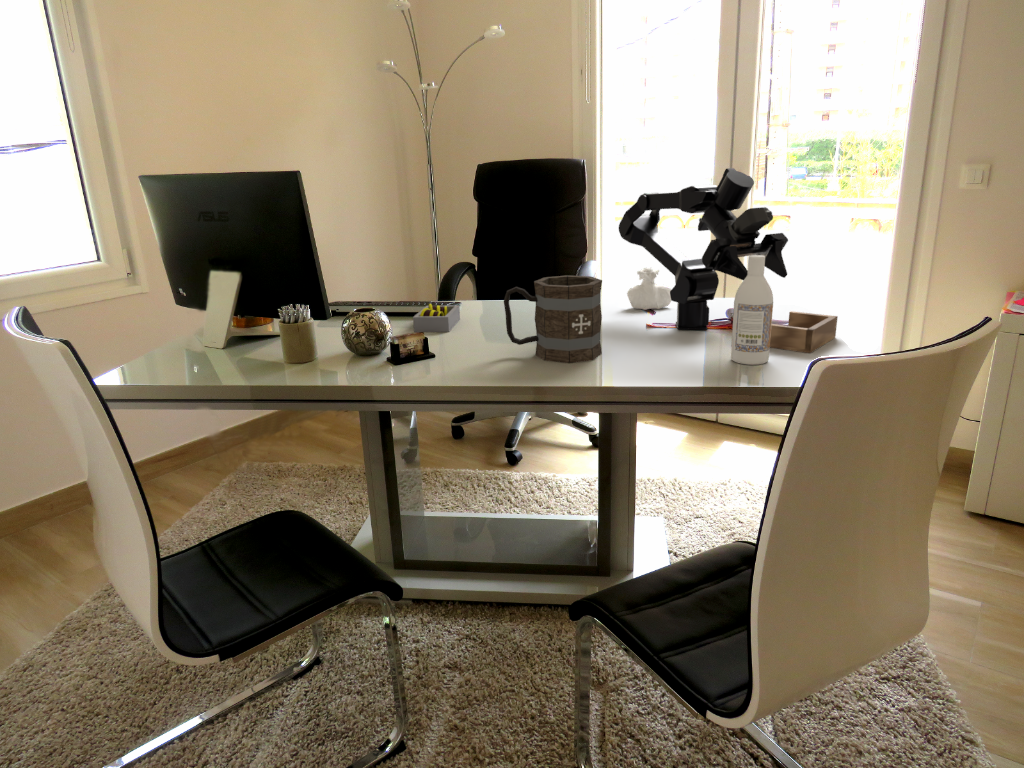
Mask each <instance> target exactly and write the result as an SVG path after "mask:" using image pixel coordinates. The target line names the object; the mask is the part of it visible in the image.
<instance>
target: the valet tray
mask: <svg viewBox="0 0 1024 768" xmlns="http://www.w3.org/2000/svg"><path fill="white" fill-rule="evenodd" d="M439 306H440V307H442V306H443V307H445V306H447V315H446V316H420V314H421V312H422V310H423V309H424V308H428V307H429V305H425V307H422V309H421V310H420V311H418V313H416V314H414V316H413V317H412V321H413V322H412V323H413V332H414V333H430V332H431V333H450V331H451V330H452V329H453V328H454V327H455V326H456V324H457V323H458V322H459V321H460V320H461V314H460V313H461V312H460V311H461V310H460V309H461V308H460V305H439Z"/></svg>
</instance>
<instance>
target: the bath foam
mask: <svg viewBox="0 0 1024 768" xmlns="http://www.w3.org/2000/svg"><path fill="white" fill-rule="evenodd" d="M747 259H748V260H747V270H748V275H747V276H746V278H745V279H744V280H742V282H741V283H740V284H739V286H738V288H737V290H736V292H735V296H734V300H733V301H734V302H733V312H732V313H733V315H732V329H731V345H730V346H731V348H730V349H731V350H730V359H731V360H732V361H733V362H734V363H738V364H741V365H749V366H756V365H763V364H767V362H768V361H769V358H770V357H769V356H770V349H771V347H770V337H771V325H772V324H773V323H772V322H773V310H774V309H773V308H774V295H773V290H772V287H771V285H770V284H769V282H768V280H767V279H766V277H765V275H764V274H765V268H766V267H765V256H763V255H750V256H748V258H747Z"/></svg>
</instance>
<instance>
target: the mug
mask: <svg viewBox="0 0 1024 768" xmlns="http://www.w3.org/2000/svg"><path fill="white" fill-rule="evenodd" d="M602 284H603V280H602V279H600V278H596V277H594V276H588V275H587V276H586V275H585V276H584V275H568V274H567V275H560V276H559V275H558V276H557V275H556V276H546V277H542V278H539V279H537V280H534V281H533V285H534V287H533V288H534V292H535V295H531V294H530V293H529V292H528V291H527V290H526V289H525V288H521V287H519V286H514V287H513V288H510V289H507V290H506V293H505V295H504V299H503V306H504V313H505V326H506V333H507V336H508V338H509V339H510V341H511V342H512V343H513V344H517V345H519V346H521V345H525V344H528V343H529V344H530V343H534V342H536V345H535V346H536V347H535V356H537V357H538V358H540V359H542V360H543V361H544V362H551V363H552V362H554V363H562V364H573V363H576V364H577V363H580V362H581V363H583V362H589V361H595V360H596V359H597V358H598V357H600V356H601V355H602V344H601V341H602V339H601V338H602V337H601V336H602V334H601V333H602V332H601V331H602V319H603V315H602V304H601V302H602V299H601V296H602V295H601V293H602ZM516 292H517V293H519V294H520V295H522V296H523V297H524V298H525V299H526V300H527V301H529V302H534V303H535V309H534V322H535V323H534V324H535V330H536V331H535V332H536V335H532V336H527V337H524V338H522V339H519V338H517V337H515V335H514V333H513V324H512V319H513V318H512V312H511V310H512V309H511V306H510V298H511V295H512V294H514V293H516Z"/></svg>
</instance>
